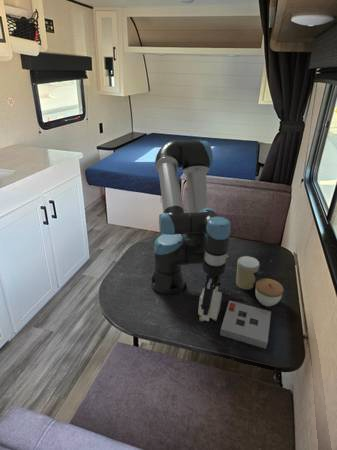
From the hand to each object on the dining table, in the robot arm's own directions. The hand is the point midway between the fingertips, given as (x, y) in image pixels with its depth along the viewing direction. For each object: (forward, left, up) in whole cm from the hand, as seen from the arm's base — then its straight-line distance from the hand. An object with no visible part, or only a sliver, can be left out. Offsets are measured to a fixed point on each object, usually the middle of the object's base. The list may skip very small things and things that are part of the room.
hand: (209, 309), depth 113 cm
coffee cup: (+10, +26, -4) cm, 28 cm away
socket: (+14, +1, -4) cm, 15 cm away
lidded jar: (+20, +18, -4) cm, 27 cm away
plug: (0, 0, -4) cm, 4 cm away
